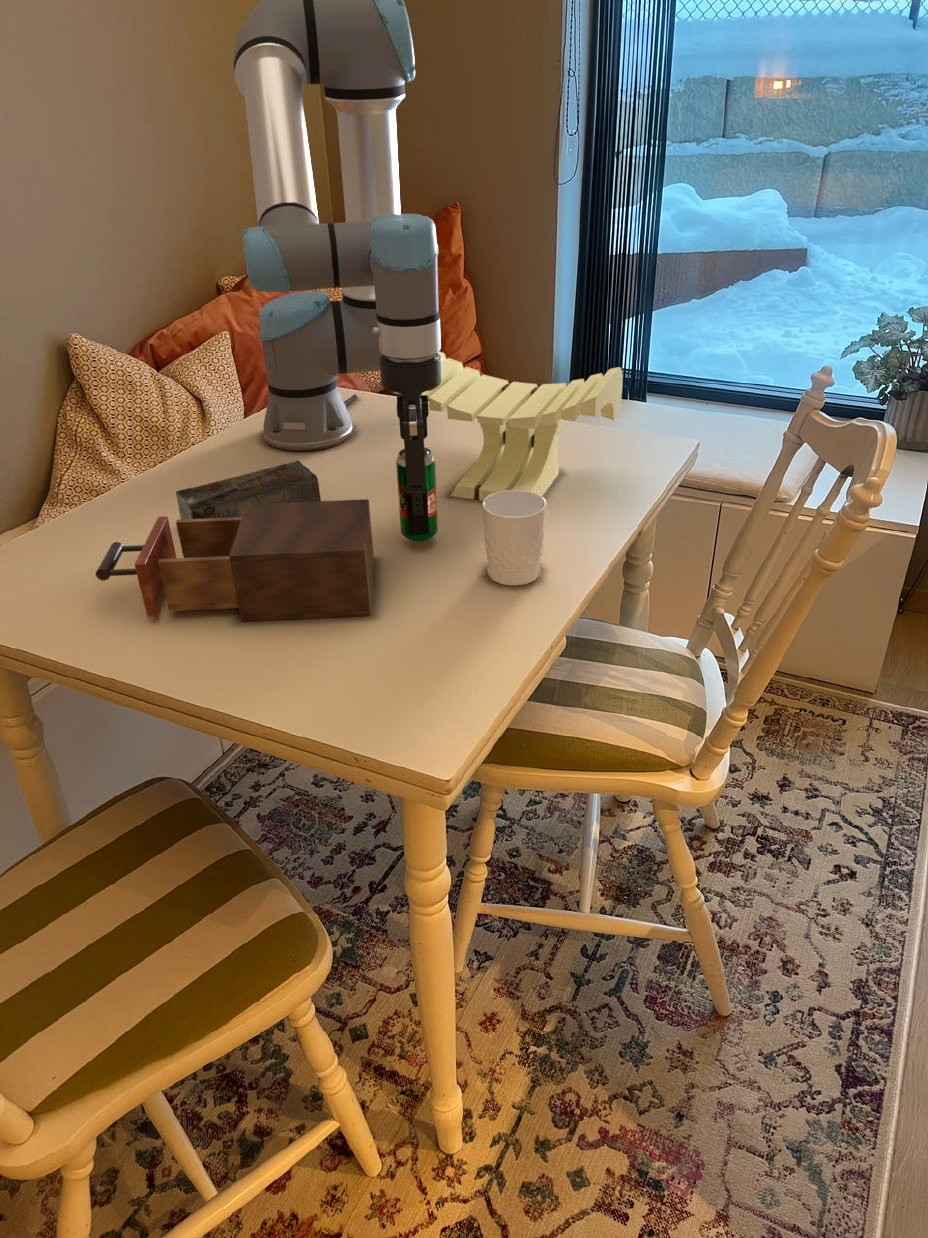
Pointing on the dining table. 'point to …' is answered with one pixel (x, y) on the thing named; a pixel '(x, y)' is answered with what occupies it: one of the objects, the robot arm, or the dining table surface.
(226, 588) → the drawer
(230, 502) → the beverage carton
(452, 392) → the slatted curved stool
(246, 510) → the cabinet
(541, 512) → the white cup
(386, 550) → the dining table surface
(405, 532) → the soda can
